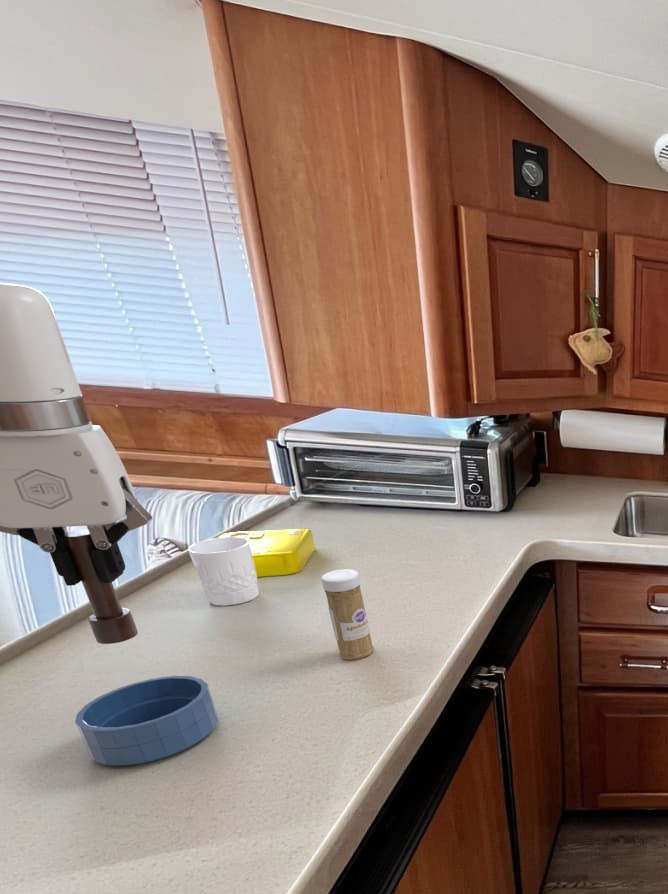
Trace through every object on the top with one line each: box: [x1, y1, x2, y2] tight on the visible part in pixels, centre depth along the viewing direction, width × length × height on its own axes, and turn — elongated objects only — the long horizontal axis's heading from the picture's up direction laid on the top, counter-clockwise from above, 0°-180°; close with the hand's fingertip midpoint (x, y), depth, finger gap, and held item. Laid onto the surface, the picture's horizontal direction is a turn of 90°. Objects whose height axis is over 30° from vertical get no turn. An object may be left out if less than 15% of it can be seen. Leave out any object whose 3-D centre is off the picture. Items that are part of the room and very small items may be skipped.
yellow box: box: [217, 528, 316, 578], centre depth 123 cm, size 15×15×5 cm
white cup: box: [187, 537, 260, 607], centre depth 109 cm, size 8×8×10 cm
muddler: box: [64, 529, 139, 645], centre depth 72 cm, size 3×3×13 cm
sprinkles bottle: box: [321, 568, 375, 661], centre depth 96 cm, size 5×5×14 cm
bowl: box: [74, 675, 219, 766], centre depth 77 cm, size 11×11×6 cm
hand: (95, 578), depth 71 cm, fingers closed on muddler, 2 cm apart
